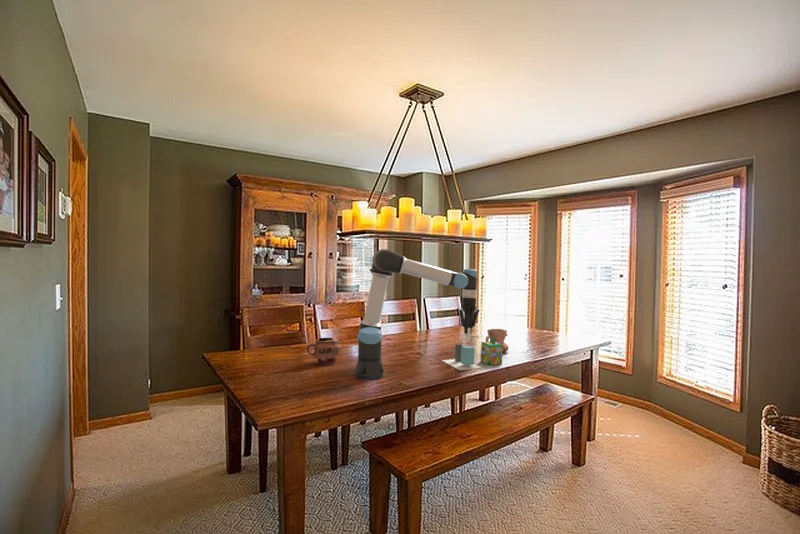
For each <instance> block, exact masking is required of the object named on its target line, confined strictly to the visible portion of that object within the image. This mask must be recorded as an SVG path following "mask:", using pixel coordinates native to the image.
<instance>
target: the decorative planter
mask: <svg viewBox="0 0 800 534" xmlns="http://www.w3.org/2000/svg"><path fill="white" fill-rule="evenodd" d="M312 347H313V348H314V352H313V353H311V352H310V351H309V349H310V348H312ZM342 349H343V345H342V344H341V343H340V341H339V339H337V338H334V337H319V338H317V339H316V340H315V342H310V343H308V344H307V345H306V347H305V350H306V351H305V352H306V353H307V354H308V355H310V356H311V357H313V358H315V359H316V358H317V363H318V364H319V365H321V366H322V365H324V366H325V365H327V366H328V365H333V364H336V363H337V355H338V354H339V352H340V351H341V350H342Z"/></svg>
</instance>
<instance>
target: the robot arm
mask: <svg viewBox="0 0 800 534" xmlns="http://www.w3.org/2000/svg"><path fill="white" fill-rule="evenodd" d="M371 261H372V263H371V269H370V273H371V275H372V277H371V284H370V287H369V293H368V296H367V297H368V298H367V302H366V308H365V313H364V317H363V320H361V321H360V323H359V328H358V331H357V333H356V340H357V344H358V348H357V351H358V353H357V356H358V358H357V363H356V365H355V368H354V371H353V374H354V377H355V378H357V379H360V380H365V381H367V380H370V381H372V380H379V379H382V378H384V377H385V369H384V367H383V362H382V339H383V335H382V324H381V322H380V321H381V317H382V312H383V307H384V302H385V296H386V292H387V289H388V288H387V287H388V282H389V279H390V278H392V277H393V274H398V275H400V274H406V275H409V276H413V277H417V278H421V279H423V280H428V281H431V282H436V283H439V284H442V286H445V287H450V286H451V287H453V288H457V289H462V299H461V300H462V301H461V303H462V306H461V308H460V309H457V312H458V315H459V320H460V326H461V327H463V328H464V330H463V332H464V333H463V334H464V339H465V340H467V341H469V340H471V334H472V329H473V328H474V327H475V326H476V323H477V319H478V315H479V313H480V309H478V308H477V306H476V304H477V298H476V297H477V287H478V286H477V285H478V284H477V283H478V270H477V269H471V268H470V269H468V268H465V269H463V272H456V271H452V270H448V269H445V268H441V267H438V266H434V265H431V264H428V263H423V262H421V261H420V262H419V261H417V260H413V259H409V258H406V257H405V256H404V255H402V254H399V253H397V252H394V251H392V250H390V249H384V248H383V249H379V250H377V251H375V253H374V254H373V256H372V260H371Z"/></svg>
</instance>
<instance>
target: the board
mask: <svg viewBox="0 0 800 534" xmlns="http://www.w3.org/2000/svg"><path fill="white" fill-rule="evenodd" d="M441 362H443V363H444V364H447V365H448V366H451V367H452V368H453V369H456V370H458V371H465V370H477V369H482V366H480V365H478V364H475V363H474V365H471V366H468V367H466V366H464V365H463V364H461V362H456V361H455V358H454V359H453V358H452V359H442V360H441Z"/></svg>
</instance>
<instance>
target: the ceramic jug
mask: <svg viewBox="0 0 800 534" xmlns="http://www.w3.org/2000/svg"><path fill="white" fill-rule="evenodd" d="M507 333H508V331H507V330H506V329H503V328H491V329H487V336H486V337H485V342H490V339H491V337H494V338H496V341H495V342H497V343H500V344H502V345H503V351H502V354H503V353H507V352H508V351H509V345H508V344H507V343H506V342H505V339H506V337H508V335H509V334H507ZM492 342H494V339H492Z"/></svg>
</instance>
